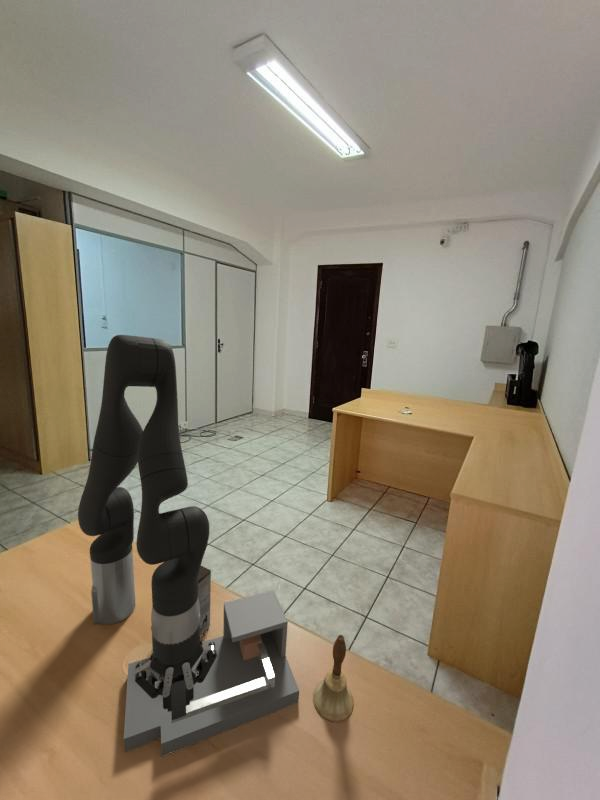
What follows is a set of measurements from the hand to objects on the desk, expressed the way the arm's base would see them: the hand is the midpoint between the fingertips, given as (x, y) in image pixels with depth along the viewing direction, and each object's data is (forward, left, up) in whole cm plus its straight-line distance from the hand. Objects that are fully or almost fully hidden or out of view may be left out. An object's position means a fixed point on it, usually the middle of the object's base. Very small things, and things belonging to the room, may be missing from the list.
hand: (178, 703), depth 62 cm
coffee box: (+4, +25, -9) cm, 27 cm away
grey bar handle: (+8, +3, -3) cm, 9 cm away
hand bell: (+30, -3, -9) cm, 32 cm away
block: (+16, +11, -6) cm, 20 cm away
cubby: (+7, +7, -9) cm, 14 cm away
